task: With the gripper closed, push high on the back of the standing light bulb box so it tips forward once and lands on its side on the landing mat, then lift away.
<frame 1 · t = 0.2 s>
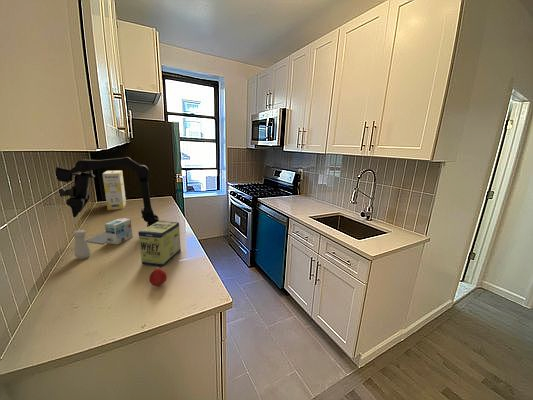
hand: (77, 214, 114), 15 cm above the worktop, tool pointing down, fingers open, 9 cm apart
pasta box: (117, 206, 182), on the worktop
salt shaker: (83, 257, 103), on the worktop
light bulb box: (120, 240, 122), on the worktop
protein box: (162, 258, 105), on the worktop
landing mat: (105, 237, 124), on the worktop
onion: (159, 286, 84), on the worktop
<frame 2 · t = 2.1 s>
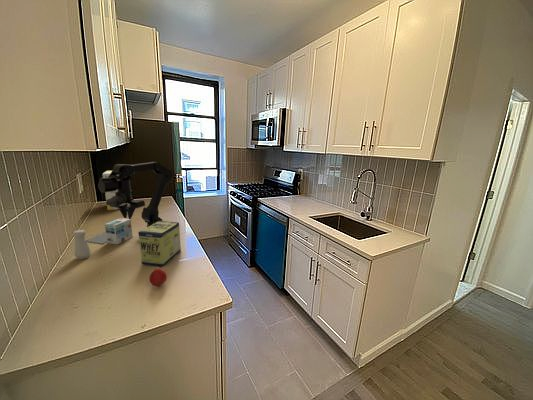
hand: (127, 218, 117), 13 cm above the worktop, tool pointing down, fingers open, 3 cm apart
nothing on the worktop moved.
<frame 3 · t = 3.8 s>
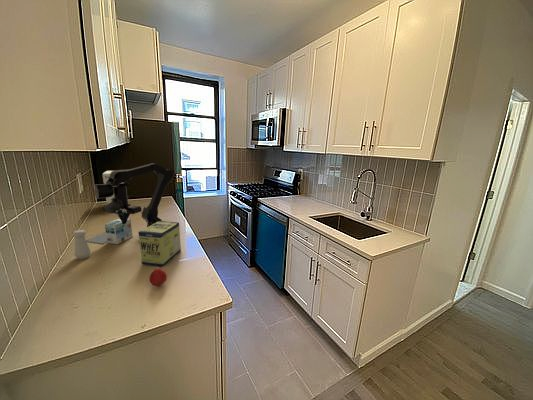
hand: (124, 224, 119), 10 cm above the worktop, tool pointing down, fingers closed
light bulb box: (120, 240, 122), on the worktop, touching gripper
everything else where it was.
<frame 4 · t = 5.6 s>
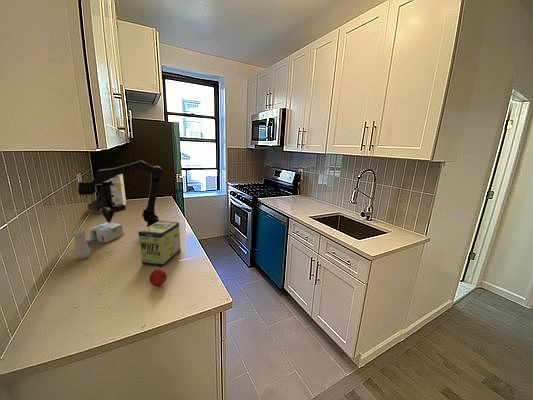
hand: (109, 222, 121), 10 cm above the worktop, tool pointing down, fingers closed
light bulb box: (115, 233, 122), point 4 cm above the worktop, touching landing mat
everything else where it was.
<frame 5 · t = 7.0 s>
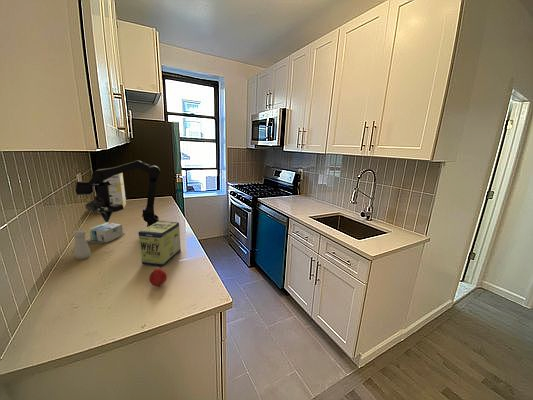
hand: (106, 221, 121), 9 cm above the worktop, tool pointing down, fingers closed
nothing on the worktop moved.
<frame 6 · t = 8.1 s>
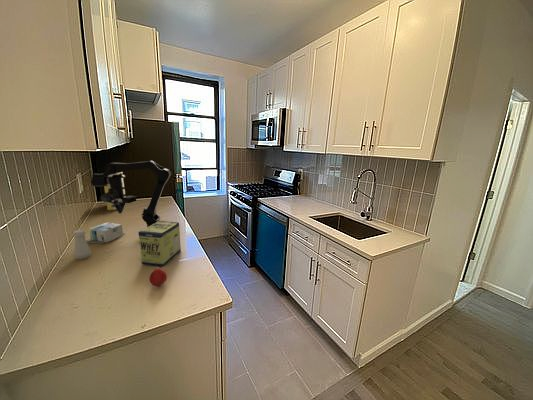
hand: (120, 213, 126), 13 cm above the worktop, tool pointing down, fingers closed
nothing on the worktop moved.
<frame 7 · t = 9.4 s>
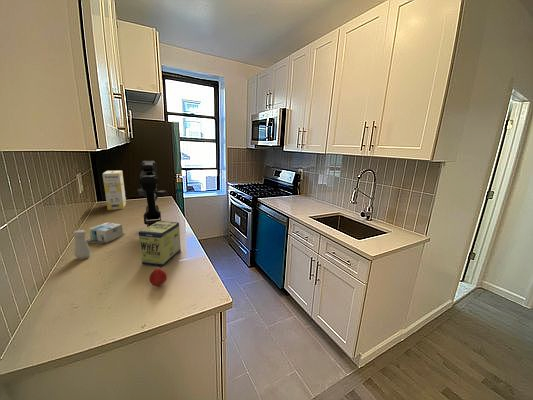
hand: (152, 206, 141), 13 cm above the worktop, tool pointing down, fingers closed
nothing on the worktop moved.
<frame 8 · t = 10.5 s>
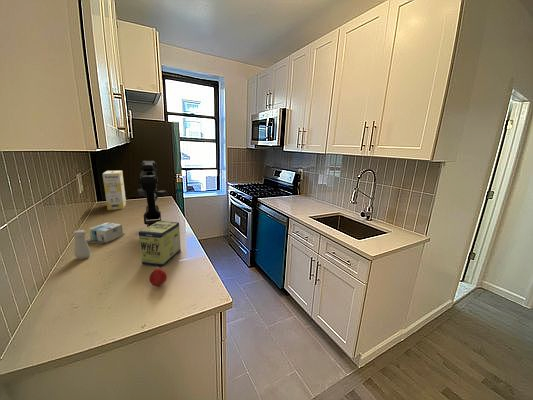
hand: (152, 206, 141), 13 cm above the worktop, tool pointing down, fingers closed
nothing on the worktop moved.
at the end: light bulb box tilted 89°; light bulb box inside the target area (6.7 cm from its centre), point 3.5 cm above the worktop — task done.
